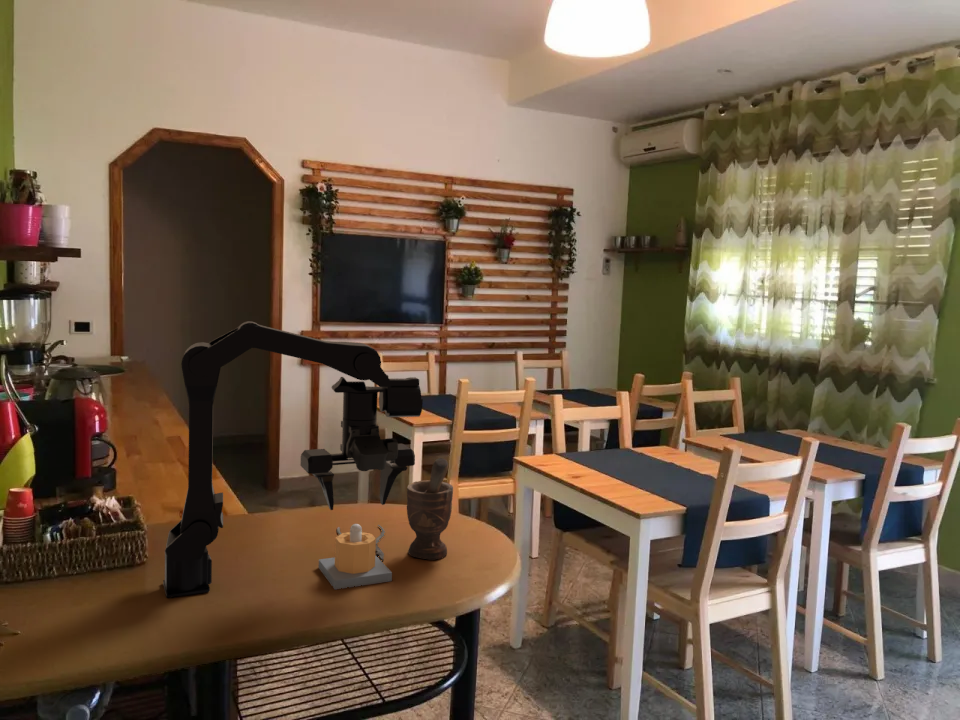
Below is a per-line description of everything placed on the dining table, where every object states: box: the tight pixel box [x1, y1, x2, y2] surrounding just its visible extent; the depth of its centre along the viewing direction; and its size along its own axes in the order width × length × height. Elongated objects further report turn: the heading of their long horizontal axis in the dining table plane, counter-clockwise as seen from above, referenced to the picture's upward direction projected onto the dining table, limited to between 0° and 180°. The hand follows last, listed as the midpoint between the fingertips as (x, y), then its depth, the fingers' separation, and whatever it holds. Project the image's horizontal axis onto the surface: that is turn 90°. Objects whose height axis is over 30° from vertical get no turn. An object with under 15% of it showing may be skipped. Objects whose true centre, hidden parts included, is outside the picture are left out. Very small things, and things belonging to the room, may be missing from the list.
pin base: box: [318, 523, 393, 590], centre depth 130 cm, size 10×10×9 cm
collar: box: [334, 531, 377, 574], centre depth 130 cm, size 6×6×5 cm
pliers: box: [336, 524, 386, 562], centre depth 147 cm, size 10×1×20 cm
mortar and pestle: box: [406, 457, 454, 561], centre depth 140 cm, size 12×9×20 cm
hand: (357, 506), depth 129 cm, fingers open, 9 cm apart
